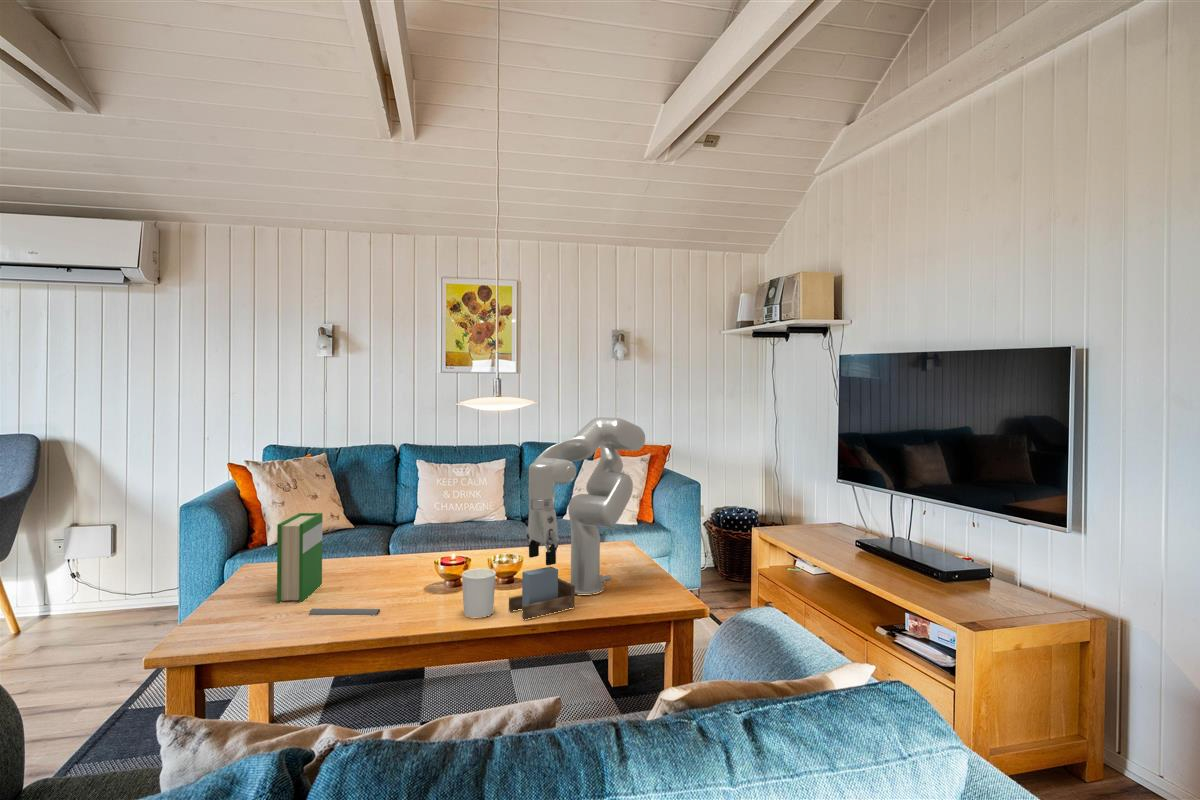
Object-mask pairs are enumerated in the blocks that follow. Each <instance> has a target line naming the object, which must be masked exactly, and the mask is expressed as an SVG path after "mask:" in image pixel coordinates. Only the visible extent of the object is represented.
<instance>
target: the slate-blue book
mask: <svg viewBox="0 0 1200 800" xmlns="http://www.w3.org/2000/svg"><path fill="white" fill-rule="evenodd" d="M521 573H522V576H521V577H522V579H521V580H522V581H521V583H522V584H521V586H522V587H521V589H522V591H521V593H522V594H521V595H522V610H521V612H522V611H523V606H524V605H528V604H533V603H537V602H542V601H546V600H551V599H555V598H558V578H559V569H558V568H556V567H553V566H546V567H541V568H535V569H531V570H524V571H522V572H521Z"/></svg>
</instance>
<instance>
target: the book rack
mask: <svg viewBox="0 0 1200 800" xmlns="http://www.w3.org/2000/svg"><path fill="white" fill-rule="evenodd" d="M570 583H571V582H568V581H565V580H563V579H561V578H559V577H558V598H555V599H551V600H546V601H542V602H537V603H533V604H528V605H524V606H523V612H522V611H521V613H522V616H521V617H522V618H523V619H524V620H525V619H528V618H532V617H537V616H541V615H546V614H549V613H554V612H558V611H562V610H565V609H569V608H573V607H574V608H575V597H576V595H575V586H574V585H572V584H570ZM518 609H522V594H521V595H516V596H512V597H508V611H509V610H510V611H513V610H518ZM524 620H523V621H524Z"/></svg>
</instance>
